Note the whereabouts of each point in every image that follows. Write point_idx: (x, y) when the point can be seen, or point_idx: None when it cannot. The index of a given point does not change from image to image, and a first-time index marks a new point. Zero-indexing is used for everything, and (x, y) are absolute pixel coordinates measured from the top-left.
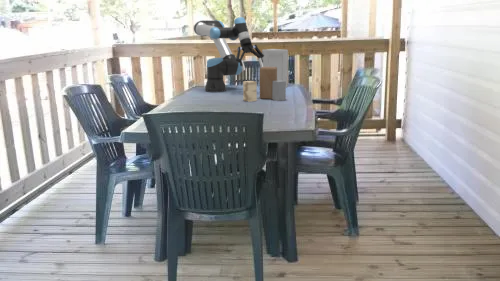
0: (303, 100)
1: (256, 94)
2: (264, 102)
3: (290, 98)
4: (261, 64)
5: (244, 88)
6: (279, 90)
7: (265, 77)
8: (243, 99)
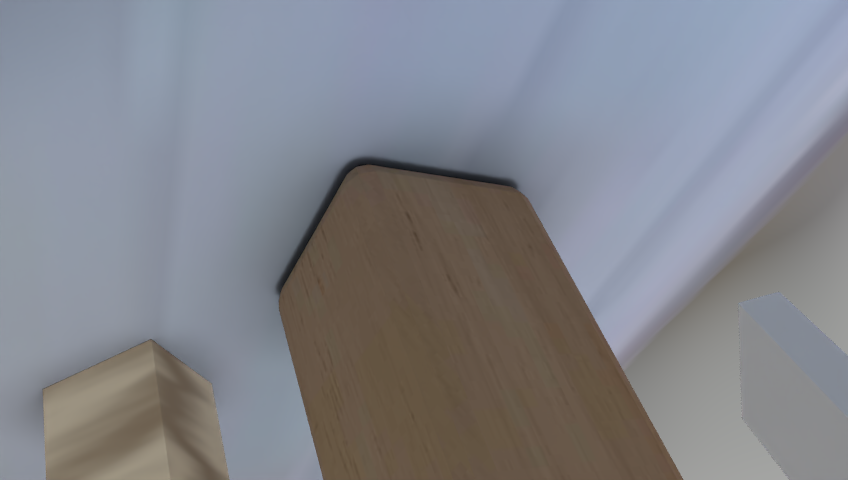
0: (646, 316)
1: (223, 451)
2: (280, 423)
3: (611, 248)
4: (799, 474)
5: None
6: None
7: None
8: (45, 402)
